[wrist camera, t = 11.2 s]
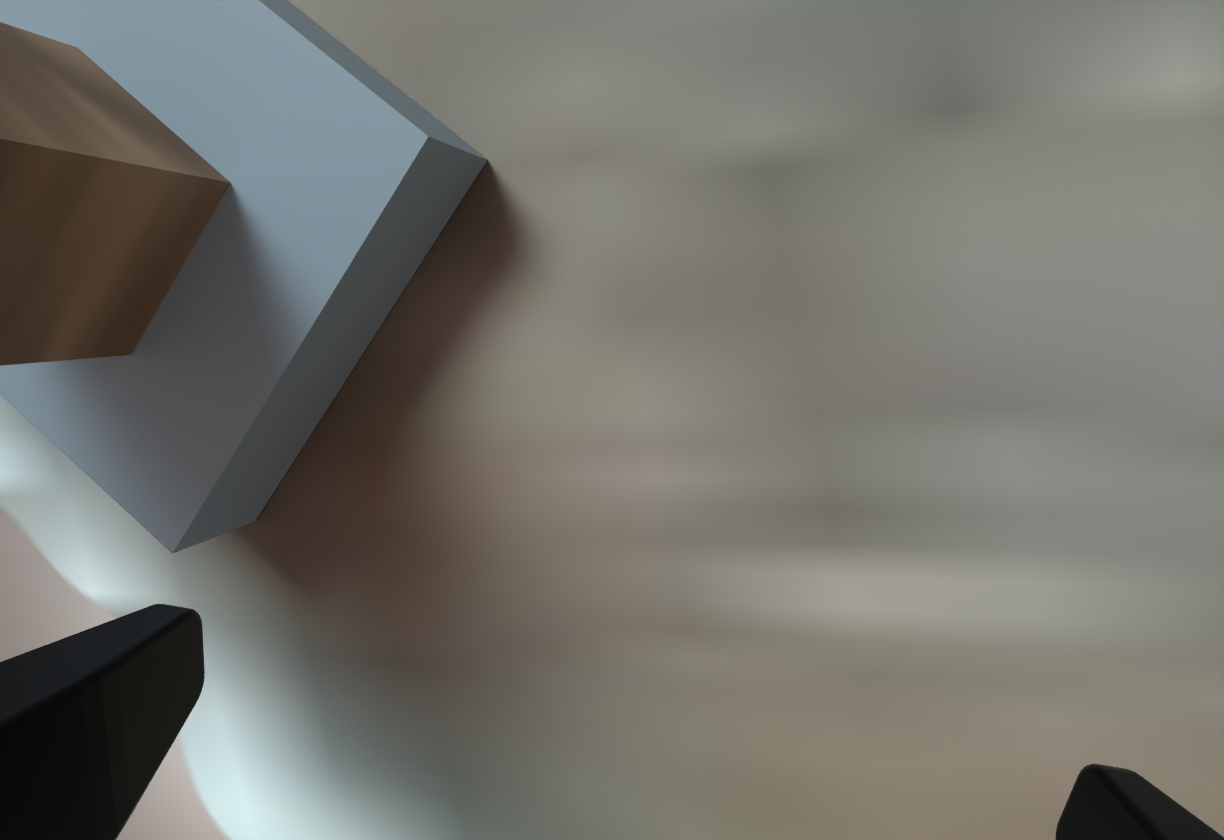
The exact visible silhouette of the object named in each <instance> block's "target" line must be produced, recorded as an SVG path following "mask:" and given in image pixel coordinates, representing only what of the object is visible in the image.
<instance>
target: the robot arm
mask: <svg viewBox="0 0 1224 840" xmlns="http://www.w3.org/2000/svg"><path fill="white" fill-rule="evenodd" d="M203 683H204V653H203V632H202V621H201V618H200V615H199V614H198V613H197V612H196V611H195V610H193V609H189V608H183V607H177V606H171V605H165V604H155V605H152V606H149V607H147V608H144V609H141V610H139V611H136V612H133V613H131V614H128V615H125V616H123V617H120V618H117V619H115V620H112V621H109V622H107V623H104V624H101V625H98V626H96V627H93V628H91V629H88V630H85V631H83V632H80V633H77V634H75V635H72V636H69V637H67V638H64V639H61V640H59V641H56V642H53V643H50V644H48V645H45V646H42V647H40V648H37V649H34V650H32V651H29V652H26V653H24V654H21V655H18V656H16V657H13V658H11V659H8V660H5V661H2V662H0V840H116V839H117V837H118V835H119V834H120V832H121V831H122V829H123V827H124V826H125V824H126V822H127V821H128V819H129V818H130V815H131V814H132V813H133V811H134V809H135V807H136V806H137V804H138V802H139V801H140V799H141V797H142V795H143V794H144V792H145V790H146V789H147V787H148V785H149V783H150V782H151V780H152V778H153V776H154V775H155V773H156V771H157V770H158V768H159V766H160V764H161V762H162V760H163V759H164V757H165V756H166V754H167V752H168V751H169V749H170V747H171V745H172V744H173V742H174V740H175V739H176V737H177V735H178V733H179V732H180V730H181V728H182V726H183V725H184V723H185V721H186V720H187V718H188V716H189V714H190V713H191V711H192V709H193V707H194V706H195V704H196V702H197V700H198V698H199V696H200V694H201V691H202V687H203ZM1056 840H1224V837H1223V836H1221V835H1220V834H1219V833H1217V832H1216V831H1215V830H1213V829H1212V828H1211V827H1209V826H1208V825H1206V824H1205V823H1204V822H1202V821H1201V820H1200V819H1198V818H1197V817H1196V816H1194V815H1193V814H1192V813H1190V812H1189V811H1188V810H1186V809H1185V808H1183V807H1182V806H1181V805H1179V804H1178V803H1177V802H1175V801H1174V800H1173V799H1171V798H1170V797H1169V796H1167V795H1166V794H1165V793H1163V792H1162V791H1160V790H1159V789H1158V788H1156V787H1155V786H1154V785H1152V784H1151V783H1150V782H1148V781H1147V780H1146V779H1144V778H1143V777H1142V776H1140V775H1139V774H1137V773H1136V772H1133V771H1131V770H1128V769H1123V768H1118V767H1112V766H1106V765H1100V764H1090V765H1087V766H1085V767H1084V768H1083V769H1082V770H1081V771H1080V773H1079V775H1078V777H1077V779H1076V782H1075V784H1074V787H1073V789H1072V791H1071V794H1070V796H1069V798H1068V801H1067V803H1066V805H1065V808H1064V810H1063V812H1062V815H1061V817H1060V819H1059V822H1058V825H1057V830H1056Z"/></svg>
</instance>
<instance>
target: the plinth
mask: <svg viewBox="0 0 1224 840" xmlns="http://www.w3.org/2000/svg"><path fill="white" fill-rule="evenodd" d="M0 22H2V23H5V24H8V25H11V26H14V27H17V28H20V29H23V30H26V31H29V32H32V33H35V34H38V35H41V36H44V37H47V38H50V39H53V40H56V41H59V42H62V43H65V44H68V45H71V46H74V47H77V48H79V49H80V50H81V51H82V52H83V53H84V54H85V55H87V56H88V57H89V58H90V59H91V60H92V61H93V62H95V63H96V64H97V65H98V66H99V67H100V68H101V69H103V70H104V71H105V72H106V73H107V74H108V75H109V76H110V77H112V78H113V79H114V80H115V81H116V82H117V83H118V84H120V85H121V86H122V87H123V88H124V89H125V90H126V91H127V92H129V93H130V94H131V95H132V96H133V97H134V98H135V99H137V100H138V101H139V102H140V103H141V104H142V105H143V106H144V107H146V108H147V109H148V110H149V111H150V112H151V113H152V114H154V115H155V116H156V117H157V118H158V119H159V120H160V121H161V122H163V123H164V124H165V125H166V126H167V127H168V128H169V129H171V130H172V131H173V132H174V133H175V134H176V135H177V136H178V137H180V138H181V139H182V140H183V141H184V142H185V143H186V144H188V145H189V146H190V147H191V148H192V149H193V150H194V151H195V152H197V153H198V154H199V155H200V156H201V157H202V158H203V159H205V160H206V161H207V162H208V163H209V164H210V165H211V166H213V167H214V168H215V169H216V170H217V171H218V172H219V173H220V174H222V175H223V176H224V177H225V178H226V179H227V180H228V181H230V182H231V183H230V185H229V187H228V188H227V190H226V192H225V193H224V195H223V197H222V199H221V200H220V202H219V204H218V206H217V207H216V209H215V211H214V213H213V214H212V216H211V218H210V219H209V221H208V223H207V225H206V226H205V228H204V230H203V232H202V233H201V235H200V237H199V239H198V240H197V242H196V244H195V246H194V247H193V249H192V251H191V252H190V254H189V256H188V258H187V259H186V261H185V263H184V265H183V266H182V268H181V270H180V272H179V273H178V275H177V277H176V279H175V280H174V282H173V284H172V285H171V287H170V289H169V291H168V292H167V294H166V296H165V298H164V299H163V301H162V303H161V305H160V306H159V308H158V310H157V312H156V313H155V315H154V317H153V318H152V320H151V322H150V324H149V325H148V327H147V329H146V331H145V332H144V334H143V336H142V338H141V339H140V341H139V343H138V345H137V346H136V348H135V350H134V351H133V353H132V355H125V356H113V357H101V358H88V359H76V360H64V361H52V362H39V363H27V364H15V365H3V366H0V395H1V396H2V397H3V398H4V399H6V400H7V401H8V402H9V403H10V404H11V405H12V406H13V407H14V408H15V409H16V410H17V411H19V412H20V413H21V414H22V415H23V416H24V417H25V418H26V419H27V420H28V421H29V422H30V423H32V424H33V425H34V426H35V427H36V428H37V429H38V430H39V431H40V432H41V433H42V434H43V435H45V436H46V437H47V438H48V439H49V440H50V441H51V442H52V443H53V444H54V445H55V446H56V447H58V448H59V449H60V450H61V451H62V452H63V453H64V454H65V455H66V456H67V457H68V458H69V459H71V460H72V461H73V462H74V463H75V464H76V465H77V466H78V467H79V468H80V469H81V470H82V471H84V472H85V473H86V474H87V475H88V476H89V477H90V478H91V479H92V480H93V481H94V482H95V483H97V484H98V485H99V486H100V487H101V488H102V489H103V490H104V491H105V492H106V493H107V494H108V495H110V496H111V497H112V498H113V499H114V500H115V501H116V502H117V503H118V504H119V505H120V506H121V507H123V508H124V509H125V510H126V511H127V512H128V513H129V514H130V515H131V516H132V517H133V518H134V519H136V520H137V521H138V522H139V523H140V524H141V525H142V526H143V527H144V528H145V529H146V530H147V531H149V532H150V533H151V534H152V535H153V536H154V537H155V538H156V539H157V540H158V541H159V542H160V543H162V544H163V545H164V546H165V547H166V548H167V549H168V550H169V551H170V552H171V553H175V552H178V551H180V550H183V549H185V548H188V547H191V546H193V545H196V544H198V543H201V542H203V541H206V540H209V539H211V538H214V537H216V536H219V535H222V534H224V533H227V532H229V531H232V530H234V529H237V528H240V527H242V526H245V525H247V524H250V523H252V522H255V521H256V519H257V518H258V516H259V515H260V513H261V511H262V510H263V508H264V507H265V505H266V504H267V502H268V501H269V499H270V497H271V496H272V494H273V493H274V491H275V490H276V488H277V487H278V485H279V483H280V482H281V480H282V479H283V477H284V476H285V474H286V473H287V471H288V469H289V468H290V466H291V465H292V463H293V462H294V460H295V459H296V457H297V455H298V454H299V452H300V451H301V449H302V448H303V446H304V445H305V443H306V441H307V440H308V438H309V437H310V435H311V434H312V432H313V431H314V429H315V427H316V426H317V424H318V423H319V421H320V420H321V418H322V417H323V415H324V413H325V412H326V410H327V409H328V407H329V406H330V404H331V403H332V401H333V399H334V398H335V396H336V395H337V393H338V392H339V390H340V389H341V387H342V385H343V384H344V382H345V381H346V379H347V378H348V376H349V375H350V373H351V371H352V370H353V368H354V367H355V365H356V364H357V362H358V361H359V359H360V357H361V356H362V354H363V353H364V351H365V350H366V348H367V347H368V345H369V343H370V342H371V340H372V339H373V337H374V336H375V334H376V333H377V331H378V329H379V328H380V326H381V325H382V323H383V322H384V320H385V319H386V317H387V315H388V314H389V312H390V311H391V309H392V308H393V306H394V305H395V303H396V301H397V300H398V298H399V297H400V295H401V294H402V292H403V291H404V289H405V287H406V286H407V284H408V283H409V281H410V280H411V278H412V277H413V275H414V273H415V272H416V270H417V269H418V267H419V266H420V264H421V263H422V261H423V259H424V258H425V256H426V255H427V253H428V252H429V250H430V249H431V247H432V245H433V244H434V242H435V241H436V239H437V238H438V236H439V235H440V233H441V231H442V230H443V228H444V227H445V225H446V224H447V222H448V221H449V219H450V217H451V216H452V214H453V213H454V211H455V210H456V208H457V207H458V205H459V203H460V202H461V200H462V199H463V197H464V196H465V194H466V193H467V191H468V189H469V188H470V186H471V185H472V183H473V182H474V180H475V179H476V177H477V175H478V174H479V172H480V171H481V169H482V168H483V166H484V165H485V163H486V161H487V159H486V158H485V157H483V156H482V155H481V154H479V153H478V152H477V151H476V150H474V149H473V148H472V147H471V146H469V145H468V144H467V143H466V142H464V141H463V140H462V139H461V138H459V137H458V136H457V135H456V134H454V133H453V132H452V131H451V130H449V129H448V128H447V127H446V126H444V125H443V124H442V123H441V122H439V121H438V120H437V119H436V118H434V117H433V116H432V115H430V114H429V113H428V112H427V111H425V110H424V109H423V108H422V107H420V106H419V105H418V104H417V103H415V102H414V101H413V100H412V99H410V98H409V97H408V96H407V95H405V94H404V93H403V92H402V91H400V90H399V89H398V88H397V87H395V86H394V85H393V84H392V83H390V82H389V81H388V80H387V79H385V78H384V77H383V76H382V75H380V74H379V73H378V72H376V71H375V70H374V69H373V68H371V67H370V66H369V65H368V64H366V63H365V62H364V61H363V60H361V59H360V58H359V57H358V56H356V55H355V54H354V53H353V52H351V51H350V50H349V49H348V48H346V47H345V46H344V45H343V44H341V43H340V42H339V41H338V40H336V39H335V38H334V37H333V36H331V35H330V34H329V33H327V32H326V31H325V30H324V29H322V28H321V27H320V26H319V25H317V24H316V23H315V22H314V21H312V20H311V19H310V18H309V17H307V16H306V15H305V14H304V13H302V12H301V11H300V10H299V9H297V8H296V7H295V6H294V5H292V4H291V3H290V2H289V1H287V0H0Z"/></svg>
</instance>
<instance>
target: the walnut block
mask: <svg viewBox="0 0 1224 840" xmlns="http://www.w3.org/2000/svg"><path fill="white" fill-rule="evenodd" d="M230 183H231V182H230V181H228V180H227V179H226V178H225V177H224V176H223V175H222V174H220V173H219V172H218V171H217V170H216V169H215V168H214V167H213V166H211V165H210V164H209V163H208V162H207V161H206V160H205V159H203V158H202V157H201V156H200V155H199V154H198V153H197V152H195V151H194V150H193V149H192V148H191V147H190V146H189V145H188V144H186V143H185V142H184V141H183V140H182V139H181V138H180V137H178V136H177V135H176V134H175V133H174V132H173V131H172V130H171V129H169V128H168V127H167V126H166V125H165V124H164V123H163V122H161V121H160V120H159V119H158V118H157V117H156V116H155V115H154V114H152V113H151V112H150V111H149V110H148V109H147V108H146V107H144V106H143V105H142V104H141V103H140V102H139V101H138V100H137V99H135V98H134V97H133V96H132V95H131V94H130V93H129V92H127V91H126V90H125V89H124V88H123V87H122V86H121V85H120V84H118V83H117V82H116V81H115V80H114V79H113V78H112V77H110V76H109V75H108V74H107V73H106V72H105V71H104V70H103V69H101V68H100V67H99V66H98V65H97V64H96V63H95V62H93V61H92V60H91V59H90V58H89V57H88V56H87V55H85V54H84V53H83V52H82V51H81V50H80V49H79V48H77V47H74V46H71V45H68V44H65V43H62V42H59V41H56V40H53V39H50V38H47V37H44V36H41V35H38V34H35V33H32V32H29V31H26V30H23V29H20V28H17V27H14V26H11V25H8V24H5V23H2V22H0V366H3V365H15V364H27V363H39V362H52V361H64V360H76V359H88V358H101V357H113V356H125V355H132V353H133V351H134V350H135V348H136V346H137V345H138V343H139V341H140V339H141V338H142V336H143V334H144V332H145V331H146V329H147V327H148V325H149V324H150V322H151V320H152V318H153V317H154V315H155V313H156V312H157V310H158V308H159V306H160V305H161V303H162V301H163V299H164V298H165V296H166V294H167V292H168V291H169V289H170V287H171V285H172V284H173V282H174V280H175V279H176V277H177V275H178V273H179V272H180V270H181V268H182V266H183V265H184V263H185V261H186V259H187V258H188V256H189V254H190V252H191V251H192V249H193V247H194V246H195V244H196V242H197V240H198V239H199V237H200V235H201V233H202V232H203V230H204V228H205V226H206V225H207V223H208V221H209V219H210V218H211V216H212V214H213V213H214V211H215V209H216V207H217V206H218V204H219V202H220V200H221V199H222V197H223V195H224V193H225V192H226V190H227V188H228V187H229V185H230Z"/></svg>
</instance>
